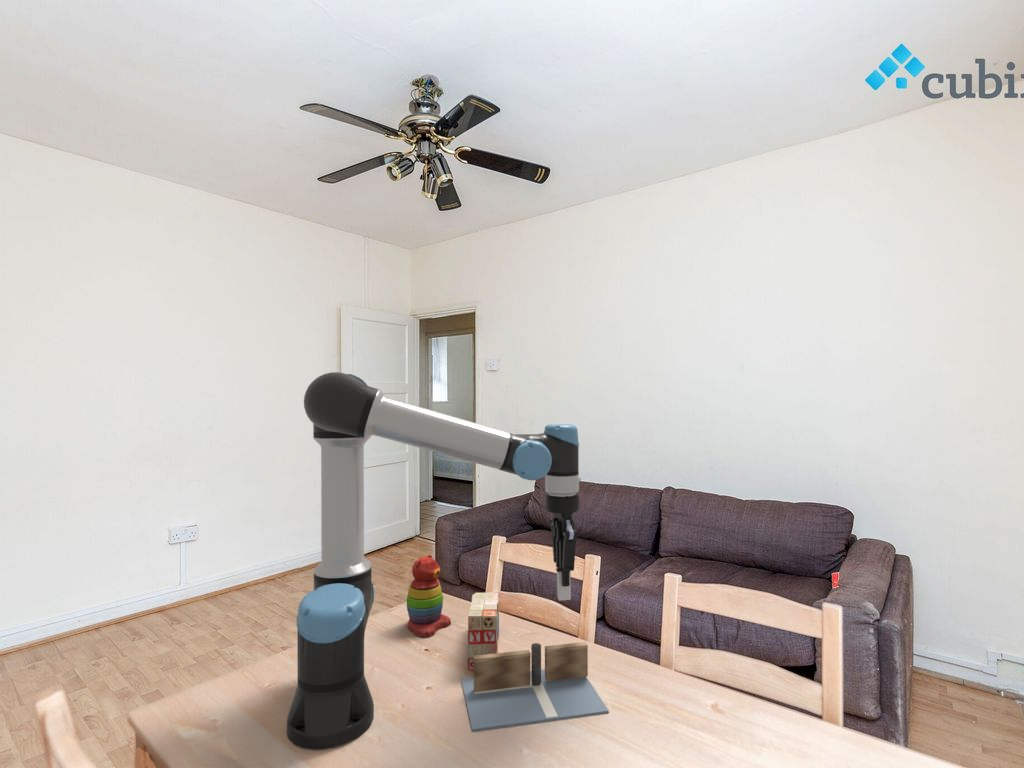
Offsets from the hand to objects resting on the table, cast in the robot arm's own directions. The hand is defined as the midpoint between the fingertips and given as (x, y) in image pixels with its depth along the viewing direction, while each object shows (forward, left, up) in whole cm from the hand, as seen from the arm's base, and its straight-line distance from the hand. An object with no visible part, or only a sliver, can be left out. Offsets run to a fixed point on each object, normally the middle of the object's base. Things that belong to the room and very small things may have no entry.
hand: (564, 598), depth 118 cm
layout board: (-10, -10, -15) cm, 21 cm away
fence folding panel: (-2, -7, -14) cm, 15 cm away
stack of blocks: (-16, +11, -15) cm, 25 cm away
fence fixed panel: (-14, -7, -14) cm, 21 cm away
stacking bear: (-29, +26, -15) cm, 42 cm away
